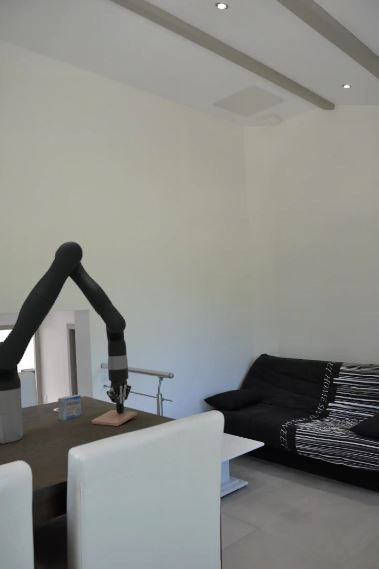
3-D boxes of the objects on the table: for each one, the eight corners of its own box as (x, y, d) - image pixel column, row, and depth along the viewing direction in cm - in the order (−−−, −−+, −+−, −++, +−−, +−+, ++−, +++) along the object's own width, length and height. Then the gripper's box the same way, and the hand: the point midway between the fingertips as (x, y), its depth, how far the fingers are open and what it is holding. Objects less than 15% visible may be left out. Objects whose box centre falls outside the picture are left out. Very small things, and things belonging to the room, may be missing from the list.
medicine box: (65, 421, 182) (64, 398, 183) (58, 420, 185) (57, 398, 185) (81, 416, 189) (80, 395, 189) (74, 415, 191) (73, 394, 192)
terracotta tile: (117, 423, 168) (136, 411, 179) (91, 420, 174) (111, 409, 185) (117, 426, 168) (136, 414, 179) (91, 423, 174) (111, 412, 185)
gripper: (115, 370, 173) (117, 417, 172) (136, 364, 184) (138, 409, 184) (99, 369, 176) (101, 416, 176) (120, 364, 188) (123, 408, 187)
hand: (120, 412), depth 180 cm, fingers closed
